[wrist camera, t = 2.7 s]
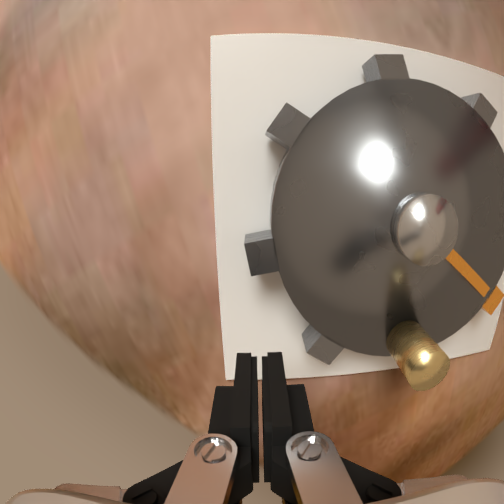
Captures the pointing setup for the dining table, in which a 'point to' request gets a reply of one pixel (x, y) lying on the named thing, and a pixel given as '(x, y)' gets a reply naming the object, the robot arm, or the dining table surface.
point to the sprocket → (387, 219)
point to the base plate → (265, 170)
